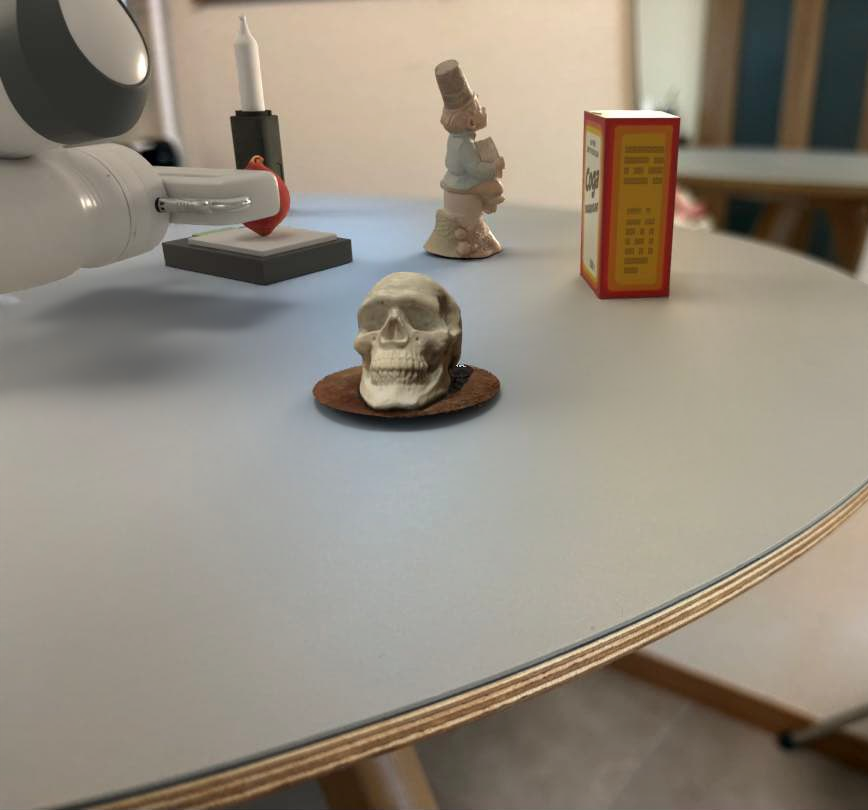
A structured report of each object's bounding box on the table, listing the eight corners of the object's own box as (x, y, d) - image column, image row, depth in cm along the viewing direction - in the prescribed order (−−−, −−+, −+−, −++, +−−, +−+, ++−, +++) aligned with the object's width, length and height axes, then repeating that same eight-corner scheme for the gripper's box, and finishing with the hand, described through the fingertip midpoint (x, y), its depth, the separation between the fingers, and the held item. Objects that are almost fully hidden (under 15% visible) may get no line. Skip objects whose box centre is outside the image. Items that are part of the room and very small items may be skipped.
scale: (165, 265, 88) (160, 236, 87) (256, 245, 98) (253, 219, 97) (264, 285, 81) (261, 254, 80) (353, 261, 90) (350, 233, 89)
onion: (270, 243, 84) (260, 160, 81) (222, 239, 86) (211, 157, 83) (304, 233, 89) (296, 154, 86) (259, 229, 91) (249, 151, 88)
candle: (257, 209, 120) (234, 14, 110) (291, 210, 119) (270, 14, 109) (238, 215, 115) (212, 12, 106) (273, 217, 114) (250, 12, 105)
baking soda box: (580, 273, 86) (584, 106, 80) (642, 272, 87) (651, 106, 81) (599, 298, 77) (605, 113, 71) (668, 296, 78) (680, 112, 72)
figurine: (439, 264, 89) (431, 59, 82) (416, 248, 97) (407, 58, 89) (517, 257, 93) (516, 59, 85) (489, 242, 100) (486, 58, 92)
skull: (496, 419, 49) (370, 286, 47) (378, 512, 53) (255, 394, 50) (529, 346, 60) (427, 235, 57) (428, 428, 64) (329, 328, 61)
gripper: (218, 166, 63) (311, 148, 75) (-7, 157, 68) (115, 141, 80) (229, 251, 65) (317, 220, 78) (12, 236, 70) (127, 209, 83)
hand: (213, 180), depth 79 cm, fingers open, 8 cm apart
